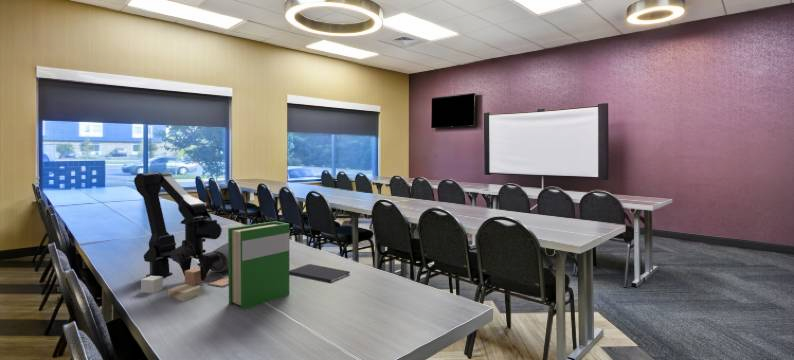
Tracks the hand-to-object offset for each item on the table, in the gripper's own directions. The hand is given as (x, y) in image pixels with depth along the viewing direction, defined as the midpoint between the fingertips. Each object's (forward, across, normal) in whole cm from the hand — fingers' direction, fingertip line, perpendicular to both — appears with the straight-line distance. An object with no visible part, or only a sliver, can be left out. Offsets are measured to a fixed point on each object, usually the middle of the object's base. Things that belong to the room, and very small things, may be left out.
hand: (194, 279), depth 152 cm
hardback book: (+1, +33, -4) cm, 33 cm away
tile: (+1, +10, +3) cm, 10 cm away
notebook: (+2, +35, +28) cm, 45 cm away
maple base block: (+1, +9, -12) cm, 15 cm away
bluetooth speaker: (+1, -3, +20) cm, 20 cm away
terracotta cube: (+1, 0, 0) cm, 1 cm away
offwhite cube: (+1, -5, -13) cm, 14 cm away
